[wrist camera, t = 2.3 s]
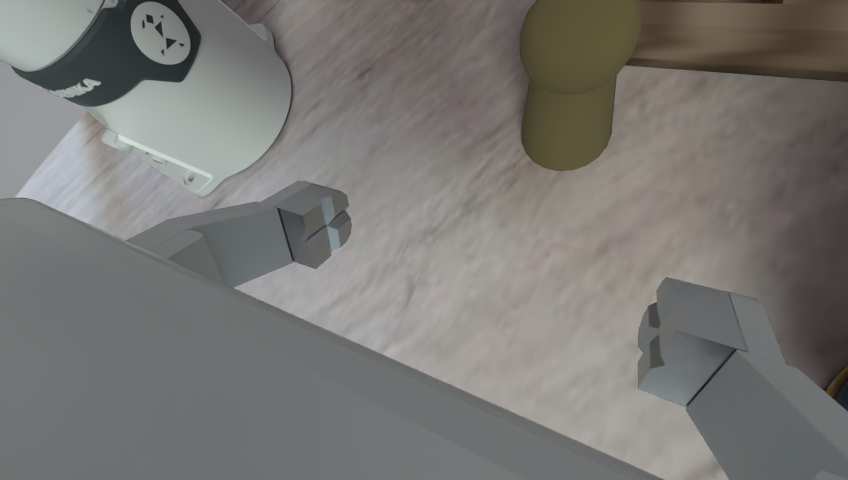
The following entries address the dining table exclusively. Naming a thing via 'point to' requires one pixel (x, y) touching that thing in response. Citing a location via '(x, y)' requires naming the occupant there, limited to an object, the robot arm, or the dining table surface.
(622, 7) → the olive round-topped post
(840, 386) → the apothecary jar
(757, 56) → the spice rack
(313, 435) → the robot arm
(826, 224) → the dining table surface
